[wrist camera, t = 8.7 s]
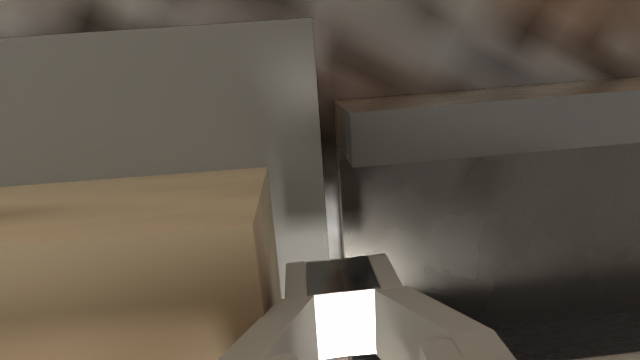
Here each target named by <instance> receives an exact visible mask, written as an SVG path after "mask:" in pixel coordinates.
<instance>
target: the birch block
mask: <svg viewBox="0 0 640 360" xmlns="http://www.w3.org/2000/svg"><path fill="white" fill-rule="evenodd" d="M279 299H282V296H281V286H280V277H279V268H278V259H277V249H276V240H275V231H274V222H273V213H272V203H271V194H270V185H269V176H268V167H259V168H245V169H232V170H219V171H206V172H193V173H179V174H166V175H153V176H140V177H127V178H113V179H100V180H87V181H74V182H61V183H47V184H34V185H21V186H8V187H0V360H218V359H219V358H220V357H221V356H222V355H223V354H224V353H225V352H226V351H227V350H228V349H229V348H230V347H231V346H232V345H233V344H234V343H235V342H236V341H237V340H238V339H239V338H240V337H241V336H242V335H243V334H244V333H245V332H246V331H247V330H248V329H249V328H250V327H251V326H252V325H253V324H255V323H256V322H257V321H258V320H259V319H260V318H261V317H264V314H265V313H266V312H267V311H268V310H269V309H270V308H271V307H272V306H273V305H274V304H275V303H276V302H277V301H278V300H279Z"/></svg>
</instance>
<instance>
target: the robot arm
mask: <svg viewBox="0 0 640 360" xmlns="http://www.w3.org/2000/svg"><path fill="white" fill-rule="evenodd" d="M373 353H376V355H377V356H378V357H379V358H380V359H381V360H516V358H515V357H514V356H513V354H512V353H511V352H510V351H509V349H508V348H507V347H506V345H505V344H504V343H503V342H502V340H501V339H500V338H499V336H498V335H497V334H496V332H495V331H494V330H493V329H491V328H489V327H487V326H485V325H483V324H481V323H479V322H477V321H475V320H473V319H471V318H469V317H467V316H466V315H464V314H462V313H460V312H458V311H456V310H454V309H452V308H450V307H448V306H446V305H444V304H442V303H440V302H439V301H437V300H435V299H433V298H431V297H429V296H427V295H425V294H423V293H421V292H419V291H417V290H415V289H413V288H412V287H410V286H403V285H402V283H401V281H400V280H399V278H398V276H397V274H396V272H395V270H394V268H393V266H392V264H391V262H390V260H389V258H388V256H387V255H386V254H385V253H381V254H374V255H366V256H358V257H350V258H340V259H327V260H315V261H306V266H305V262H304V261H300V262H291V263H287V264H286V274H285V299H279V300H278V301H277V302H276V303H275V304H274V305H273V306H272V307H271V308H270V309H269V310H268V311H267V312H266V313H265V314H264V317H261V318H260V319H259V320H258V321H257V322H256V323H255V324H253V325H252V326H251V327H250V328H249V329H248V330H247V331H246V332H245V333H244V334H243V335H242V336H241V337H240V338H239V339H238V340H237V341H236V342H235V343H234V344H233V345H232V346H231V347H230V348H229V349H228V350H227V351H226V352H225V353H224V354H223V355H222V356H221V357H220V358H219V359H218V360H320V359H327V358H334V357H341V356H349V355H361V354H373ZM572 360H640V352H632V353H623V354H615V355H606V356H598V357H589V358H581V359H572Z"/></svg>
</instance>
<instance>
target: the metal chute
mask: <svg viewBox="0 0 640 360" xmlns="http://www.w3.org/2000/svg"><path fill="white" fill-rule="evenodd" d="M334 114H335V132H336V149H337V167H338V185H339V203H340V220H341V238H342V256H343V258H350V257H358V256H366V255H374V254H381V253H385V254H386V255H387V256H388V258H389V260H390V262H391V264H392V266H393V268H394V270H395V272H396V274H397V276H398V278H399V280H400V281H401V283H402V285H403V286H410V287H412V288H413V289H415V290H417V291H419V292H421V293H423V294H425V295H427V296H429V297H431V298H433V299H435V300H437V301H439V302H440V303H442V304H444V305H446V306H448V307H450V308H452V309H454V310H456V311H458V312H460V313H462V314H464V315H466V316H467V317H469V318H471V319H473V320H475V321H477V322H479V323H481V324H483V325H485V326H487V327H489V328H491V329H493V330H494V331H495V332H496V334H497V335H498V336H499V338H500V339H501V340H502V342H503V343H504V344H505V345H506V347H507V348H508V349H509V351H510V352H511V353H512V354H513V356H514V357H515V358H516V360H572V359H581V358H589V357H598V356H606V355H615V354H623V353H632V352H640V77H628V78H615V79H602V80H590V81H577V82H564V83H551V84H539V85H526V86H513V87H500V88H488V89H475V90H462V91H449V92H436V93H424V94H411V95H398V96H385V97H373V98H360V99H347V100H334ZM348 359H349V360H381V359H380V358H379V357H378V356H377V355H376V353H373V354H361V355H349V356H348Z"/></svg>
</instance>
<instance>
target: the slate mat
mask: <svg viewBox="0 0 640 360" xmlns="http://www.w3.org/2000/svg"><path fill="white" fill-rule="evenodd" d="M259 167H268V176H269V185H270V194H271V203H272V213H273V222H274V231H275V240H276V249H277V259H278V268H279V277H280V286H281V296H282V299H285V274H286V264H287V263H291V262H300V261H304V262H305V266H306V261H315V260H327V259H329V249H328V235H327V221H326V206H325V192H324V178H323V164H322V149H321V135H320V121H319V106H318V92H317V78H316V64H315V49H314V35H313V21H312V17H311V18H296V19H281V20H266V21H250V22H235V23H220V24H205V25H190V26H175V27H160V28H145V29H130V30H115V31H99V32H84V33H69V34H54V35H39V36H24V37H9V38H0V187H8V186H21V185H34V184H47V183H61V182H74V181H87V180H100V179H113V178H127V177H140V176H153V175H166V174H179V173H193V172H206V171H219V170H232V169H245V168H259ZM320 360H336V357H334V358H327V359H320Z"/></svg>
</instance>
